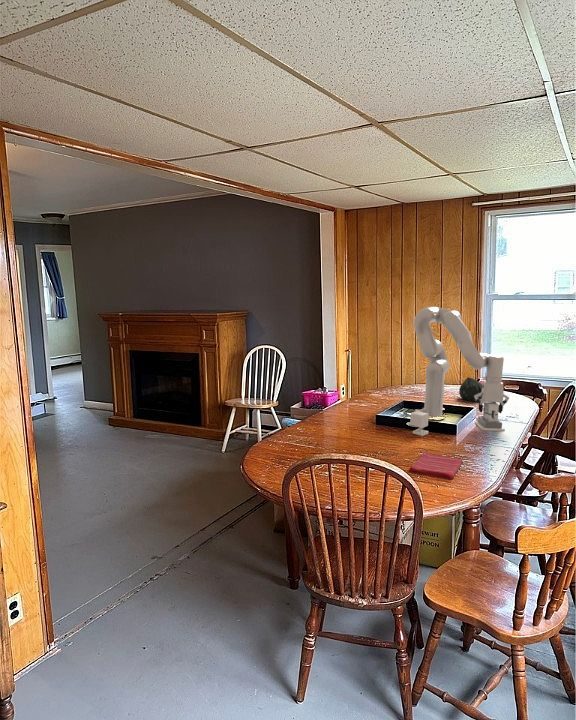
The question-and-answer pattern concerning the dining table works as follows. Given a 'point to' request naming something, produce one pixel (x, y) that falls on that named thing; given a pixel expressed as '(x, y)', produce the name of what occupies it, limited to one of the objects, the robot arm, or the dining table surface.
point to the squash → (470, 389)
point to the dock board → (489, 425)
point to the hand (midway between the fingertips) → (490, 412)
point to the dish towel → (436, 466)
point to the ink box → (490, 411)
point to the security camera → (419, 422)
